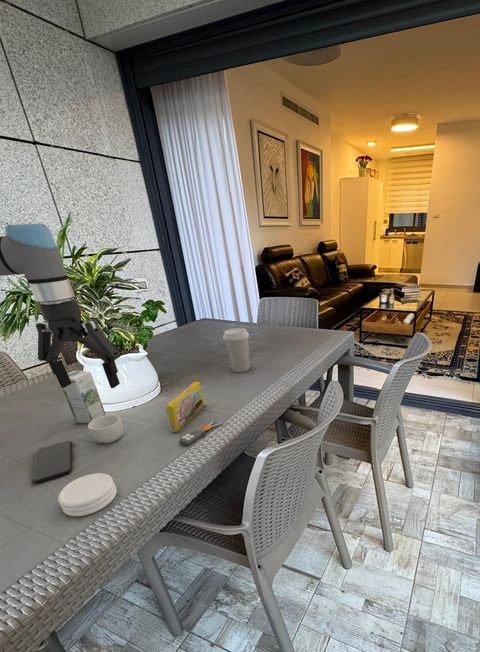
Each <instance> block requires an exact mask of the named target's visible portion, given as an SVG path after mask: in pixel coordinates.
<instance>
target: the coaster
mask: <svg viewBox="0 0 480 652" xmlns="http://www.w3.org/2000/svg"><path fill="white" fill-rule="evenodd" d="M117 489H118V488H117V486H116V483H115V482H114V478H113V477H112V476H110V475H109V474H107V473H100V472H99V473H97V472H96V473H91V474H90V473H89V474H86V475H83V476H81V477H78V478H76V479H75V480H72V481H70V482H69V483H67V485H65V486H64V487H63V488H62V489H61V490H60V492H59V493H58V496H57V502H58V504H59V505H60V507H61V509H62V511H63V513H64V514H66V515H67V516H70V517H84V516H89V515H91V514H94V513H96V512H99V511H100V510H102V509H104V508H106V507H107V506H108V505H109V504H111V502H113V500H114V499H115V497H116V496H117V492H118V491H117Z"/></svg>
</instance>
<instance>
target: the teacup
mask: <svg viewBox="0 0 480 652" xmlns="http://www.w3.org/2000/svg"><path fill="white" fill-rule="evenodd" d="M122 419H123V418H122V416H121V415H120V414H115V413H112V414H111V413H110V414H106V415H104V416H101V417H98V418H96V419H94V420H92V421H91V422H90V423H87V428H88V431H89V432H90V434H91V436H92V437H93V439H94V440H95V441H97V442H98V443H102V444H110V443H114V442H116V441H118V440H119V439H120V438H121V437H122V435H123V434H124V425H123V420H122Z"/></svg>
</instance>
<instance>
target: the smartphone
mask: <svg viewBox="0 0 480 652" xmlns="http://www.w3.org/2000/svg"><path fill="white" fill-rule="evenodd" d="M72 471H73V442H72V441H71V440H65V441H62V442H59V443H54V444H51V445H47V446H43V447H41V448H38V449H37V450H36V451H35V454H34V463H33V469H32V476H31V483H33V484H39V483H42V482H45V481H49V480H52V479H56V478H58V477H61V476H64V475H67V474H70V473H71V472H72Z"/></svg>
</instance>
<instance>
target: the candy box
mask: <svg viewBox="0 0 480 652" xmlns="http://www.w3.org/2000/svg"><path fill="white" fill-rule="evenodd" d="M204 406H205V403H204V398H203V393H202V387H201V382H200V381H193V382H192V383H190V385H189V386H188V387H186V388H185V389H184V390H183V391H182V392H181V393H179V394H178V395H177V396H176V397H175V398H173V399H172V400H171V401H170V402H168V403H167V404H166V405H165V407H166V413H167V416H168V422H169V426H170V429H171V432H172V433H178V432H179V431H180V430H181V429H182V428H183V427H184V426H185V425H186V424H187V423H188V422H189V421H190V420H191V419H192V418H193V417H194V416H195V415H196V414H197V413H198V412H199V411H200V410H201V409H202V408H203V407H204Z"/></svg>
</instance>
